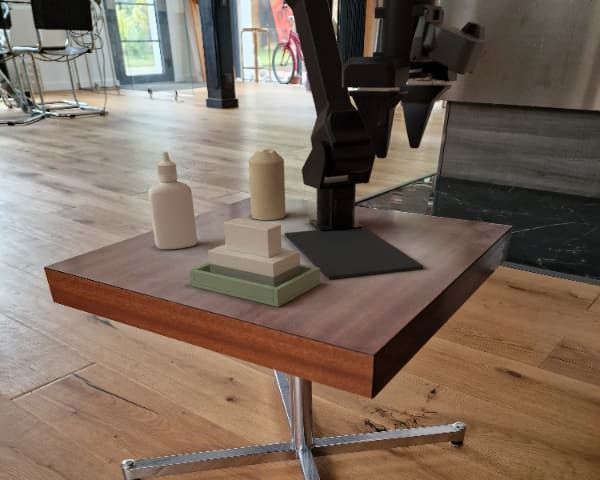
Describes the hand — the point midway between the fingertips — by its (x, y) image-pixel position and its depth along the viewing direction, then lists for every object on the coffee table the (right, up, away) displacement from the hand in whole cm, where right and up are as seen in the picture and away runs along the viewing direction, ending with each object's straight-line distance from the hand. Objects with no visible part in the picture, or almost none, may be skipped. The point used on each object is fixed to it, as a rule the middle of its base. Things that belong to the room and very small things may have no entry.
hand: (398, 152), depth 69 cm
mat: (-6, -10, +7) cm, 13 cm away
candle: (-17, 0, +24) cm, 29 cm away
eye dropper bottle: (-29, -9, +10) cm, 32 cm away
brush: (-17, -16, -4) cm, 24 cm away
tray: (-17, -17, -4) cm, 24 cm away
